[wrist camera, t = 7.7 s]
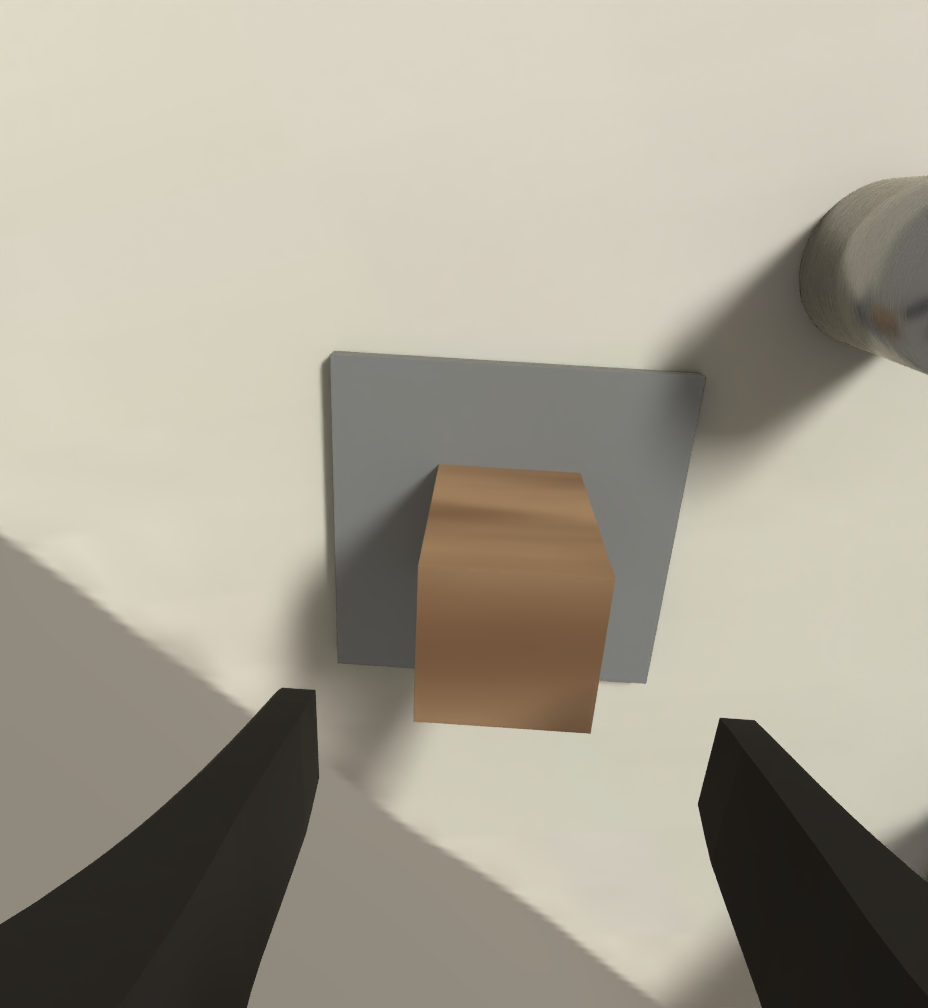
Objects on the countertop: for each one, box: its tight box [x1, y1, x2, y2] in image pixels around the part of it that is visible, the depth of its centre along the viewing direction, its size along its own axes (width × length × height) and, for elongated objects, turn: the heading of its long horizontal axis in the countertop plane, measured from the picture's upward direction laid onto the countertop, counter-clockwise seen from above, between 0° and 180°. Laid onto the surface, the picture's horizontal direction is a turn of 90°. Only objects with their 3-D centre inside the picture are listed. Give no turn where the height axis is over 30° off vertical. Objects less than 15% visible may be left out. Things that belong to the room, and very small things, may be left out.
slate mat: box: [330, 351, 706, 684], centre depth 20 cm, size 10×10×1 cm
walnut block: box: [414, 464, 615, 733], centre depth 17 cm, size 4×4×6 cm
